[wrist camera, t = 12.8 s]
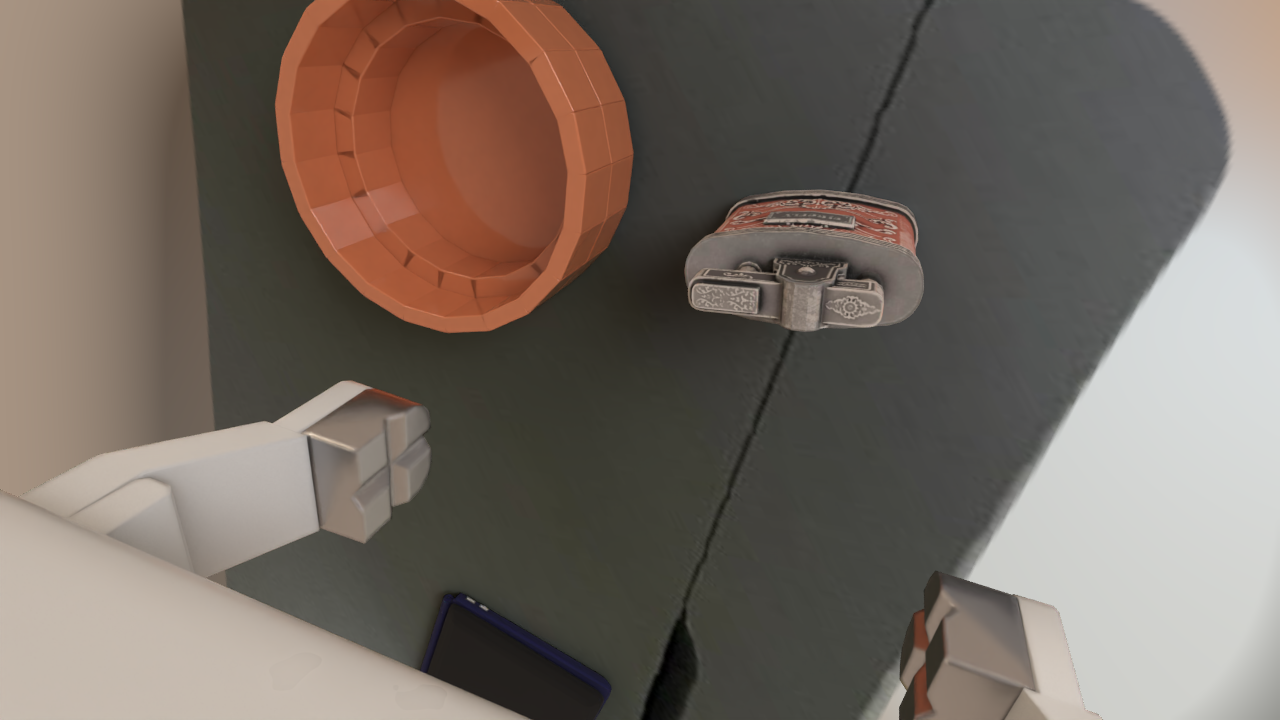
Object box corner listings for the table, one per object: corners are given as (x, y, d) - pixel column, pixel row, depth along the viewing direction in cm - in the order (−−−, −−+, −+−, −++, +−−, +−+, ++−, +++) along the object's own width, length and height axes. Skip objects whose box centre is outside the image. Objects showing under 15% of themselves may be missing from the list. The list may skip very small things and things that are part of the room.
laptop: (380, 700, 57) (364, 720, 55) (462, 569, 47) (445, 589, 45) (533, 813, 57) (521, 837, 55) (649, 706, 46) (640, 732, 44)
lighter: (923, 194, 28) (936, 262, 19) (911, 273, 29) (917, 370, 21) (729, 185, 30) (663, 243, 22) (726, 259, 32) (664, 341, 23)
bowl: (656, 1, 28) (603, -7, 23) (616, 320, 35) (568, 369, 30) (359, -43, 31) (254, -59, 26) (375, 256, 38) (294, 289, 33)
